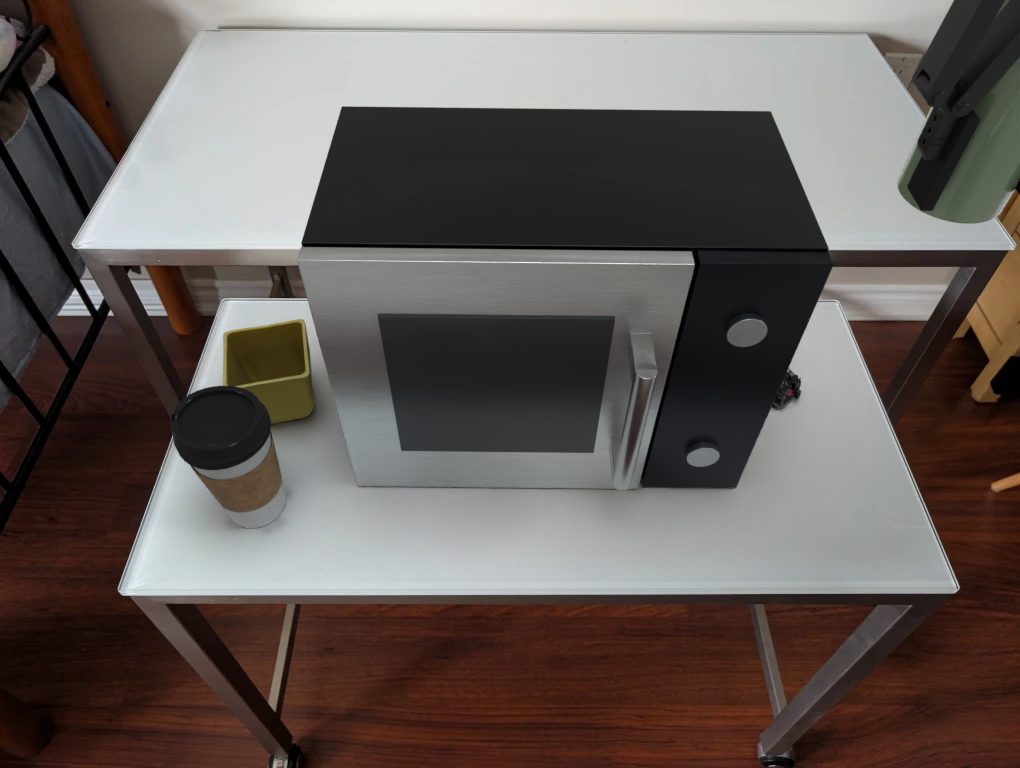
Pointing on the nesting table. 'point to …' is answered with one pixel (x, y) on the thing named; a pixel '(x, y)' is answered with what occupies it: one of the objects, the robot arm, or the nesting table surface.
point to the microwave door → (496, 361)
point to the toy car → (788, 390)
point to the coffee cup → (231, 452)
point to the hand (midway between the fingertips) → (974, 198)
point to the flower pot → (272, 367)
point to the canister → (980, 158)
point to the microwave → (610, 234)
